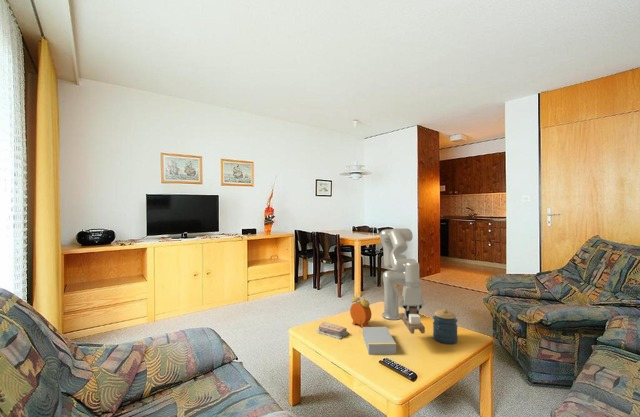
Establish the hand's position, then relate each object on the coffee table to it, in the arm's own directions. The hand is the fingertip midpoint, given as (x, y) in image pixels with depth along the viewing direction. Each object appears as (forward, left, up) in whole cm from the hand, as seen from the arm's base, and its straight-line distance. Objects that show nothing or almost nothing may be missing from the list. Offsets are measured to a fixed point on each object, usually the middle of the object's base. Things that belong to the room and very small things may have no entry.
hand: (412, 316), depth 162 cm
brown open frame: (0, 0, -5) cm, 5 cm away
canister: (-5, +20, -15) cm, 25 cm away
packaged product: (-15, -44, -15) cm, 49 cm away
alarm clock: (-26, -25, -15) cm, 39 cm away
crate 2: (+4, 0, -2) cm, 4 cm away
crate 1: (-4, 0, -1) cm, 4 cm away
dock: (0, -19, -15) cm, 24 cm away
